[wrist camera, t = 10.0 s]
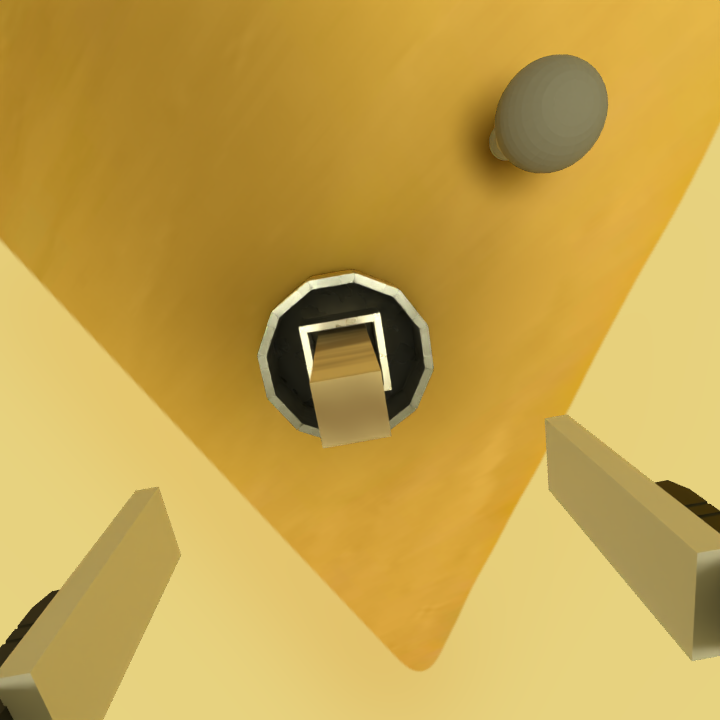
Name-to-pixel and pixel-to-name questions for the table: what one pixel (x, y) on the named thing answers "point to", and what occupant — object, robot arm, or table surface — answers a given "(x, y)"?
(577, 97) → the light bulb
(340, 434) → the tan square post
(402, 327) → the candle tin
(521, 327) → the table surface
